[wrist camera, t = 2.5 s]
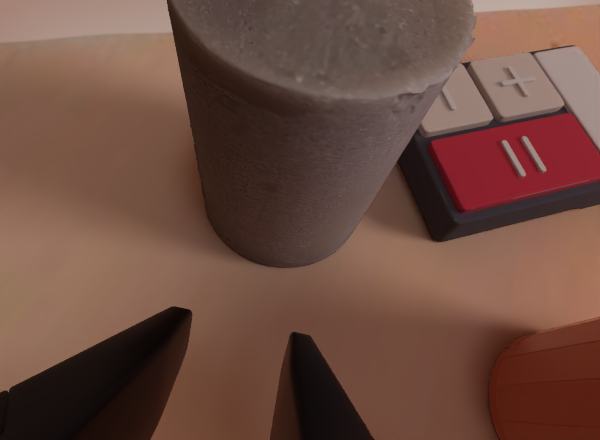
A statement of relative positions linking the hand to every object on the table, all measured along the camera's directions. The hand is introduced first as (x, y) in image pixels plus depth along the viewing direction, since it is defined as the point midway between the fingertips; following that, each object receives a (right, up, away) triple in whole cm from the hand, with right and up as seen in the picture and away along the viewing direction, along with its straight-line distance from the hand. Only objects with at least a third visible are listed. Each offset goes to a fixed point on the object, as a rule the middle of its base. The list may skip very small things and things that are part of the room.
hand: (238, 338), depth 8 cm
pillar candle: (0, +4, +16) cm, 17 cm away
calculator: (+15, +7, +20) cm, 26 cm away
